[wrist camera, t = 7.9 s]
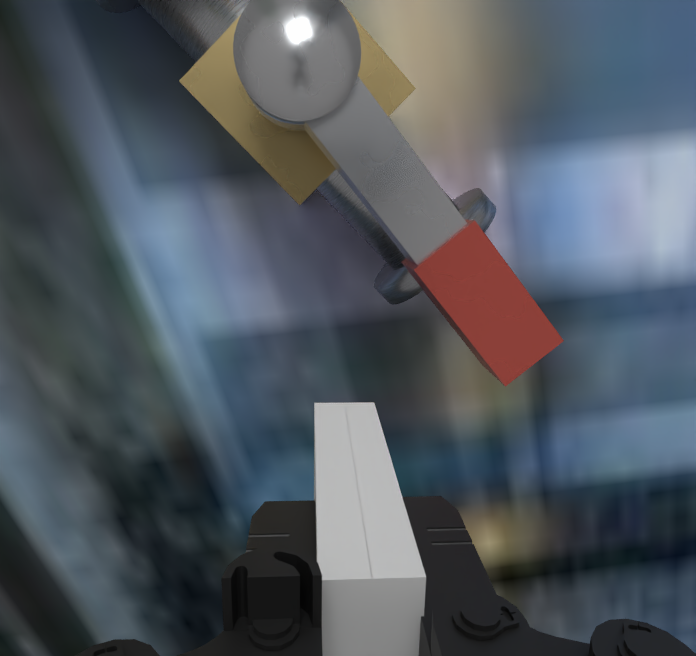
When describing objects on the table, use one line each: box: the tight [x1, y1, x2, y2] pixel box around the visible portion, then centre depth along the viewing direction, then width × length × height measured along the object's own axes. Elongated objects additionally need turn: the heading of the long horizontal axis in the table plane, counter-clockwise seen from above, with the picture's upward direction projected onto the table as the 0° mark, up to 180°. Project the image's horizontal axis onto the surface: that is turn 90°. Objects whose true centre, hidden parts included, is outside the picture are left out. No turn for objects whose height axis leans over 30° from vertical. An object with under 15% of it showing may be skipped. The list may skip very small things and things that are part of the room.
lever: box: [233, 0, 564, 386], centre depth 18 cm, size 14×4×2 cm, turn 39°
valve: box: [95, 0, 496, 304], centre depth 23 cm, size 18×6×9 cm, turn 44°
